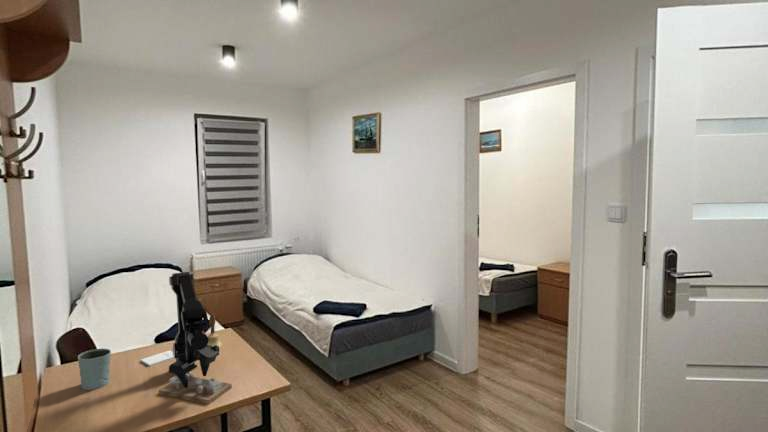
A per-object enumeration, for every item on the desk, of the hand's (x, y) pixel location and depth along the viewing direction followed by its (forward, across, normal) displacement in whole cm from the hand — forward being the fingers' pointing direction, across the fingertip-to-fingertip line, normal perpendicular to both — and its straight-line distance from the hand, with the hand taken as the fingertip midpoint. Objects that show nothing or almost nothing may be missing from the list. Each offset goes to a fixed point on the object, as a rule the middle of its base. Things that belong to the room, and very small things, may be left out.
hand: (195, 381), depth 152 cm
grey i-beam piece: (+2, 0, 0) cm, 2 cm away
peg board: (+4, 0, 0) cm, 4 cm away
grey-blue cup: (+4, -8, +39) cm, 40 cm away
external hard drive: (+4, +17, +34) cm, 38 cm away
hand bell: (+4, +35, +22) cm, 42 cm away
